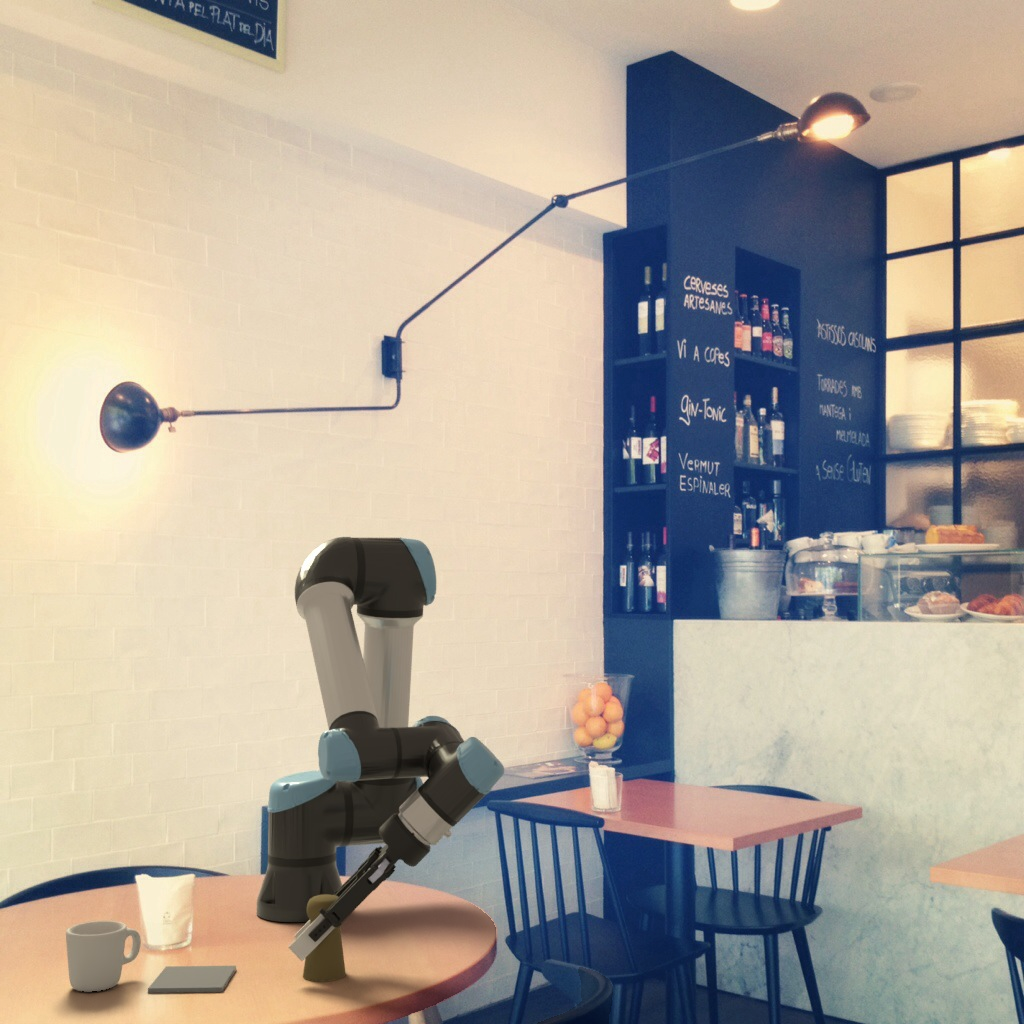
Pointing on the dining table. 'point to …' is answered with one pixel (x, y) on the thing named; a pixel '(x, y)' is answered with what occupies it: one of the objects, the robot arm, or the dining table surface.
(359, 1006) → the dining table surface
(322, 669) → the robot arm
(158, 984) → the coaster
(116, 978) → the cup
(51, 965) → the dining table surface
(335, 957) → the pepper mill
